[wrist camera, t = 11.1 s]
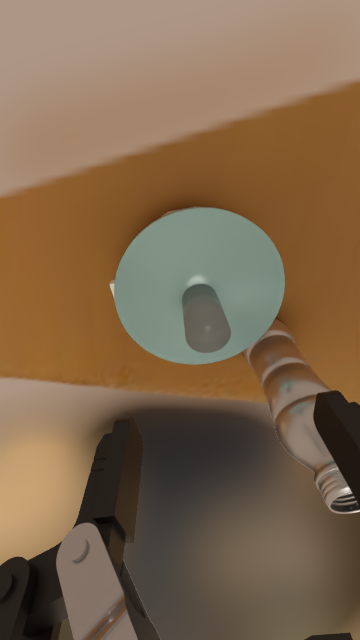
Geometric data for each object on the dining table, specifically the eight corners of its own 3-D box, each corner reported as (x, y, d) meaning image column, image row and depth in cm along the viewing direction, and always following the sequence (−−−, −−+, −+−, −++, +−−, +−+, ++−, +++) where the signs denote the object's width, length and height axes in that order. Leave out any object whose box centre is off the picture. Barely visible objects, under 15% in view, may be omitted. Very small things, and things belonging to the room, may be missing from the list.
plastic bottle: (236, 354, 35) (299, 526, 18) (236, 313, 32) (315, 481, 15) (281, 348, 35) (388, 518, 18) (286, 307, 31) (426, 470, 14)
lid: (286, 191, 17) (336, 199, 12) (275, 347, 24) (303, 393, 19) (92, 223, 18) (62, 245, 13) (138, 366, 25) (130, 416, 20)
